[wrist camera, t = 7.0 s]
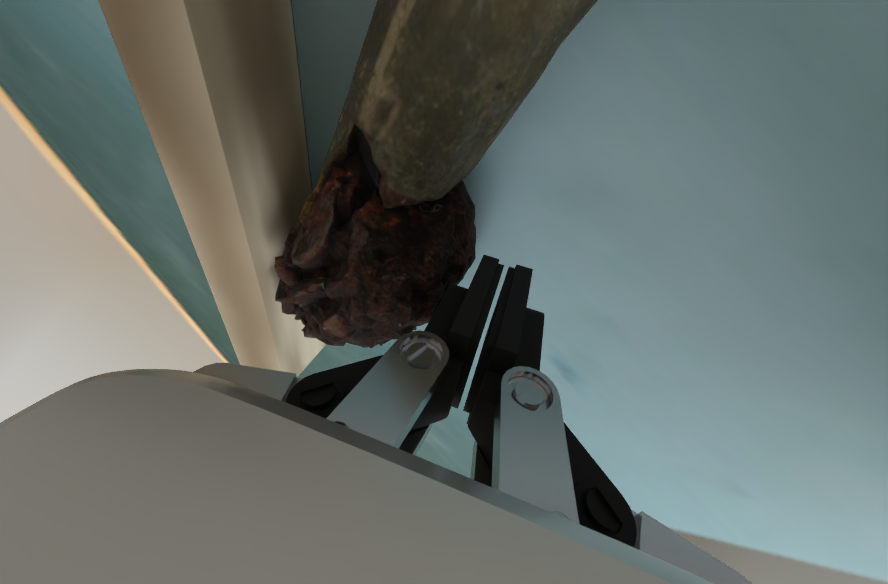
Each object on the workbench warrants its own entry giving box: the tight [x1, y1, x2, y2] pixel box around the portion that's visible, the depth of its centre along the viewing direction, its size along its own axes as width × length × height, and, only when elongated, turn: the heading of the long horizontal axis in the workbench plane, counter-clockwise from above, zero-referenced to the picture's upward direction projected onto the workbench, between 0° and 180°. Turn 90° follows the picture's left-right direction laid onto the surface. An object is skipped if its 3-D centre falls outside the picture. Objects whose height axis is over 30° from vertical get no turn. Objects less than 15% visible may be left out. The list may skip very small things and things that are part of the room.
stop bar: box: [98, 0, 326, 377], centre depth 13 cm, size 3×20×4 cm, turn 171°
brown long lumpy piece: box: [274, 0, 597, 348], centre depth 10 cm, size 18×7×6 cm, turn 147°
